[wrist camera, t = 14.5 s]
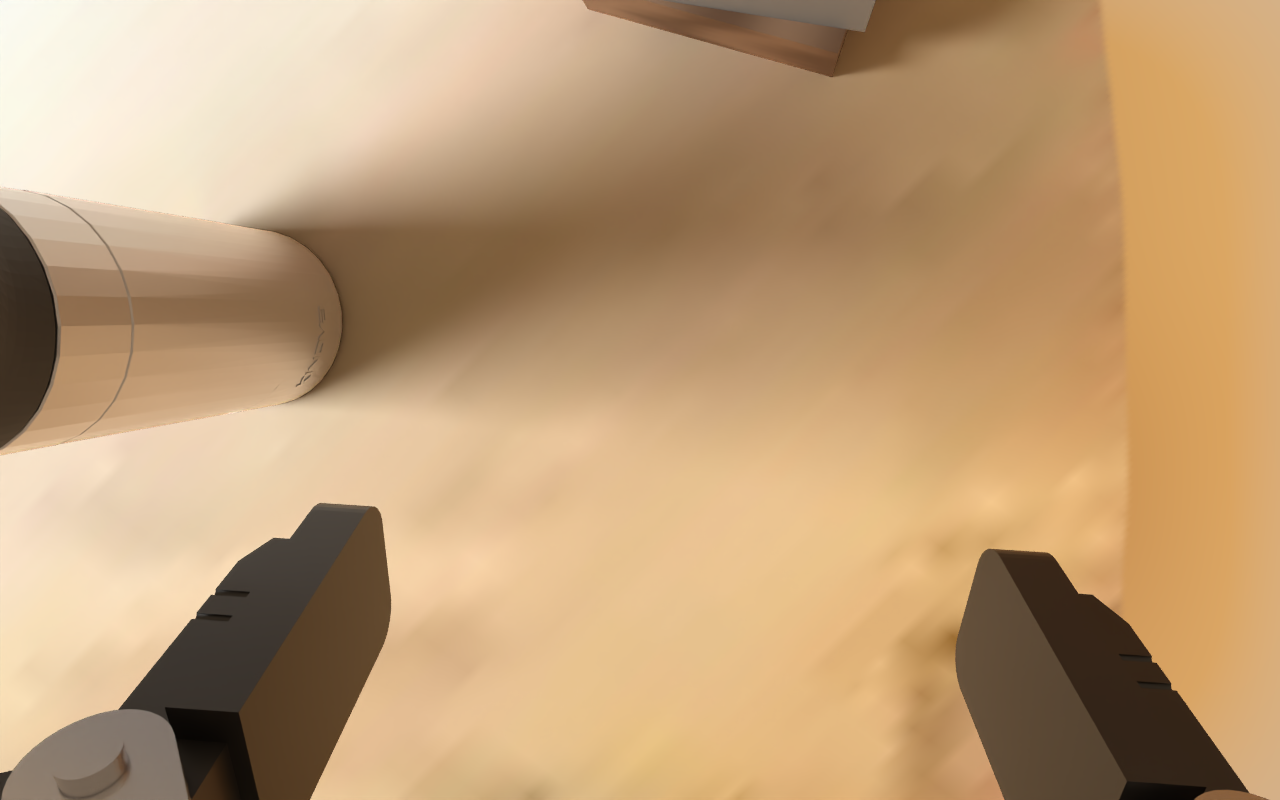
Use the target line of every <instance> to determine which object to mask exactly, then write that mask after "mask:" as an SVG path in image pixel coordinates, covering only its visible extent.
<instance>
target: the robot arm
mask: <svg viewBox="0 0 1280 800" xmlns="http://www.w3.org/2000/svg"><path fill="white" fill-rule="evenodd" d="M341 333H342V311H341V306H340V301H339V297H338V293H337V290H336V288H335V286H334V283H333V281H332V278H331V276H330V275H329V273H328V272H327V270H326V269H325V267H324V266H323V264H322V263H321V261H320V260H319V259H318V258H317V257H316V256H315V255H314V254H313V253H312V252H311V251H310V250H309V249H308V248H307V247H305V246H304V245H302V244H300V243H299V242H297V241H296V240H294V239H292V238H290V237H288V236H285V235H282V234H279V233H276V232H272V231H266V230H260V229H254V228H248V227H242V226H236V225H230V224H225V223H220V222H214V221H208V220H202V219H196V218H190V217H184V216H178V215H172V214H166V213H160V212H154V211H148V210H142V209H136V208H130V207H124V206H117V205H111V204H105V203H99V202H93V201H87V200H81V199H75V198H69V197H63V196H57V195H51V194H45V193H39V192H33V191H27V190H18V189H12V188H6V187H0V455H5V454H10V453H16V452H21V451H26V450H32V449H37V448H43V447H48V446H54V445H58V444H63V443H68V442H74V441H79V440H85V439H90V438H96V437H102V436H107V435H113V434H118V433H124V432H129V431H135V430H140V429H146V428H151V427H157V426H163V425H168V424H174V423H179V422H185V421H190V420H196V419H201V418H207V417H212V416H218V415H223V414H230V413H236V412H241V411H247V410H252V409H257V408H263V407H268V406H274V405H279V404H282V403H286V402H289V401H292V400H295V399H297V398H299V397H301V396H302V395H304V394H306V393H308V392H309V391H310V390H311V389H313V388H314V387H315V386H316V385H317V384H318V383H319V382H320V381H321V380H322V379H323V377H324V376H325V374H326V373H327V372H328V370H329V369H330V367H331V366H332V364H333V361H334V359H335V356H336V354H337V351H338V349H339V344H340V338H341ZM390 614H391V594H390V585H389V576H388V568H387V559H386V550H385V541H384V533H383V524H382V518H381V514H380V512H379V510H378V509H377V508H376V507H372V506H357V505H341V504H326V503H319V504H317V505H316V506H314V507H313V509H312V510H311V511H310V512H309V514H308V515H307V516H306V518H305V519H304V520H303V522H302V523H301V524H300V526H299V527H298V529H297V530H296V531H295V533H294V534H293V535H292V537H291V538H290V539H283V538H273V539H271V540H270V541H268V542H267V543H265V544H264V545H262V546H261V547H259V548H258V549H256V550H254V551H253V552H251V553H250V554H248V555H247V556H245V557H244V558H242V559H241V560H239V561H238V562H237V564H236V565H235V566H234V567H233V568H232V570H231V571H230V572H229V573H228V575H227V576H226V577H225V578H224V580H223V581H222V582H221V583H220V585H219V586H218V587H217V588H216V593H215V595H211V596H210V597H209V598H208V599H207V601H206V602H205V603H204V604H203V606H202V607H201V608H200V609H199V611H198V612H197V616H196V619H191V620H190V622H189V623H188V624H187V625H186V627H185V628H184V629H183V630H182V632H181V633H180V634H179V635H178V637H177V638H176V639H175V640H174V642H173V643H172V644H171V645H170V646H169V648H168V649H167V650H166V651H165V653H164V654H163V655H162V656H161V658H160V659H159V660H158V661H157V663H156V664H155V665H154V666H153V668H152V669H151V670H150V671H149V672H148V674H147V675H146V676H145V677H144V679H143V680H142V681H141V682H140V684H139V685H138V686H137V687H136V689H135V690H134V691H133V692H132V693H131V695H130V696H129V697H128V698H127V700H126V701H125V702H124V703H123V705H122V706H121V707H120V708H119V710H114V711H109V712H104V713H100V714H96V715H93V716H90V717H87V718H84V719H82V720H79V721H77V722H74V723H72V724H70V725H68V726H66V727H64V728H62V729H60V730H59V731H57V732H55V733H54V734H52V735H51V736H49V737H47V738H46V739H45V740H43V741H42V742H41V743H39V744H38V745H37V746H35V747H34V748H33V749H32V750H31V751H30V752H29V753H28V754H27V755H26V756H25V757H23V759H22V760H21V761H20V762H19V763H18V765H17V766H16V767H15V768H14V769H13V770H12V771H8V772H4V773H0V800H310V798H311V796H312V794H313V792H314V790H315V788H316V785H317V783H318V781H319V779H320V777H321V775H322V773H323V771H324V769H325V767H326V764H327V762H328V760H329V758H330V756H331V754H332V752H333V750H334V748H335V746H336V743H337V741H338V739H339V737H340V735H341V733H342V731H343V729H344V727H345V724H346V722H347V720H348V718H349V716H350V714H351V712H352V710H353V708H354V706H355V703H356V701H357V699H358V697H359V695H360V693H361V691H362V689H363V687H364V685H365V682H366V680H367V678H368V676H369V674H370V672H371V670H372V668H373V666H374V663H375V661H376V659H377V657H378V655H379V653H380V651H381V649H382V647H383V644H384V642H385V639H386V635H387V632H388V627H389V622H390ZM1151 658H1152V656H1151V654H1150V653H1149V652H1148V650H1147V649H1146V647H1145V646H1144V645H1143V643H1142V642H1141V640H1140V639H1139V638H1138V636H1137V635H1136V634H1135V632H1134V631H1133V629H1132V628H1131V626H1130V625H1129V624H1128V623H1127V622H1126V621H1125V620H1123V619H1122V618H1121V617H1120V616H1118V615H1117V614H1116V613H1115V612H1113V611H1112V610H1111V609H1110V608H1108V607H1107V606H1106V605H1104V604H1103V603H1102V602H1101V601H1099V600H1098V599H1097V598H1096V597H1094V596H1093V595H1088V594H1078V592H1077V591H1076V589H1075V588H1074V586H1073V585H1072V583H1071V582H1070V580H1069V579H1068V577H1067V576H1066V574H1065V573H1064V571H1063V570H1062V568H1061V567H1060V565H1059V564H1058V562H1057V561H1056V559H1055V558H1054V557H1053V556H1052V555H1051V554H1049V553H1045V552H1029V551H1014V550H999V549H987V550H986V551H984V552H983V554H982V555H981V557H980V559H979V562H978V565H977V569H976V572H975V576H974V580H973V583H972V587H971V591H970V594H969V598H968V601H967V605H966V609H965V612H964V616H963V619H962V623H961V627H960V630H959V634H958V638H957V643H956V658H955V660H956V672H957V678H958V682H959V686H960V689H961V692H962V694H963V697H964V699H965V702H966V704H967V707H968V709H969V712H970V714H971V717H972V719H973V722H974V724H975V727H976V729H977V732H978V734H979V737H980V739H981V742H982V744H983V747H984V749H985V752H986V754H987V757H988V759H989V762H990V764H991V767H992V769H993V772H994V774H995V777H996V779H997V782H998V784H999V787H1000V789H1001V792H1002V794H1003V797H1004V799H1005V800H1268V799H1266V798H1263V797H1260V796H1257V795H1254V794H1250V793H1249V792H1248V790H1247V789H1246V788H1245V786H1244V785H1243V783H1242V782H1241V780H1240V779H1239V778H1238V776H1237V775H1236V773H1235V772H1234V771H1233V769H1232V768H1231V766H1230V765H1229V764H1228V762H1227V761H1226V759H1225V758H1224V757H1223V755H1222V754H1221V752H1220V751H1219V750H1218V748H1217V747H1216V746H1215V744H1214V743H1213V741H1212V740H1211V738H1210V737H1209V736H1208V734H1207V733H1206V731H1205V730H1204V729H1203V727H1202V726H1201V724H1200V723H1199V722H1198V720H1197V719H1196V717H1195V716H1194V715H1193V713H1192V712H1191V710H1190V709H1189V708H1188V706H1187V705H1186V703H1185V702H1184V701H1183V699H1182V698H1181V696H1180V695H1179V694H1178V692H1177V691H1173V690H1172V689H1171V683H1170V681H1169V680H1168V678H1167V677H1166V676H1165V674H1164V673H1163V671H1162V670H1161V668H1160V667H1159V666H1158V664H1157V663H1152V659H1151Z"/></svg>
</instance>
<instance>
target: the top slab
mask: <svg viewBox="0 0 1280 800" xmlns="http://www.w3.org/2000/svg"><path fill="white" fill-rule="evenodd" d="M663 1H670V2H676V3H682V4H689V5H695V6H701V7H708V8H714V9H721V10H727V11H733V12H740V13H746V14H752V15H759V16H765V17H771V18H778V19H784V20H791V21H797V22H803V23H810V24H816V25H822V26H829V27H835V28H841V29H848V30H854V31H861V32H865V30H866V27H867V24H868V21H869V18H870V15H871V12H872V9H873V7H874V4H875V1H876V0H663Z"/></svg>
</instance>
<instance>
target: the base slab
mask: <svg viewBox="0 0 1280 800" xmlns="http://www.w3.org/2000/svg"><path fill="white" fill-rule="evenodd" d="M583 1H584V3H585V5H586V6H587V8H588V9H590V10H593V11H597V12H600V13H604V14H608V15H611V16H615V17H618V18H622V19H626V20H629V21H633V22H636V23H640V24H643V25H647V26H651V27H654V28H658V29H661V30H665V31H669V32H672V33H676V34H679V35H683V36H687V37H690V38H694V39H697V40H701V41H704V42H708V43H712V44H715V45H719V46H722V47H726V48H730V49H733V50H737V51H740V52H744V53H747V54H751V55H755V56H758V57H762V58H765V59H769V60H773V61H776V62H780V63H783V64H787V65H791V66H794V67H798V68H801V69H805V70H808V71H812V72H816V73H819V74H823V75H826V76H830V77H832V76H833V73H834V70H835V67H836V64H837V61H838V58H839V55H840V52H841V49H842V46H843V43H844V40H845V37H846V34H847V31H848V29H841V28H835V27H829V26H822V25H816V24H810V23H803V22H797V21H791V20H784V19H778V18H771V17H765V16H759V15H752V14H746V13H740V12H733V11H727V10H721V9H714V8H708V7H701V6H695V5H689V4H682V3H676V2H670V1H663V0H583Z"/></svg>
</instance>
